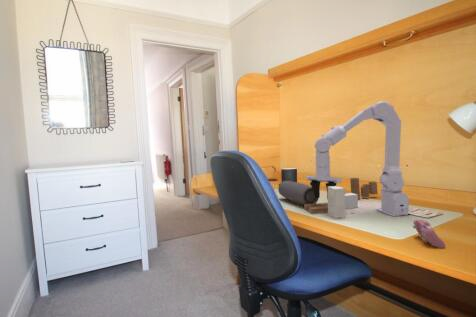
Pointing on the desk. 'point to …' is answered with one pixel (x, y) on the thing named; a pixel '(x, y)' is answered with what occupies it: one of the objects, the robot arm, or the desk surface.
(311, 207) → the base slab
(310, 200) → the bluetooth speaker
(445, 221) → the desk surface
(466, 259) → the desk surface
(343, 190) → the skincare box
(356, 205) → the brick
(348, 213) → the cream rectangular panel
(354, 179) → the wooden block set
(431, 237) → the pink lumpy wedge
